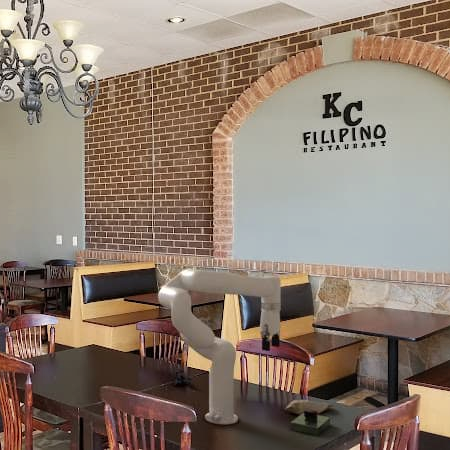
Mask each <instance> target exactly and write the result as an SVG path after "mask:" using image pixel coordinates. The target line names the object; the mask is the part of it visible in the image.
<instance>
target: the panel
mask: <svg viewBox="0 0 450 450" xmlns="http://www.w3.org/2000/svg"><path fill="white" fill-rule="evenodd" d="M330 426H331V417H330V416H324V415H319V414H317V421H315V422H310V421H306V420H304V413H303V414H300V415H298V416H297V417H296V418H295V419H293V420H292V421H291V422H290V430H291V431H293V432H297V433H299V432H300V433H303V434H307V435H312V436H317V437H318V436H320V435H321V434H322V433H323V432H324V431H325V430H326V429H327V428H329V427H330Z"/></svg>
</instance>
